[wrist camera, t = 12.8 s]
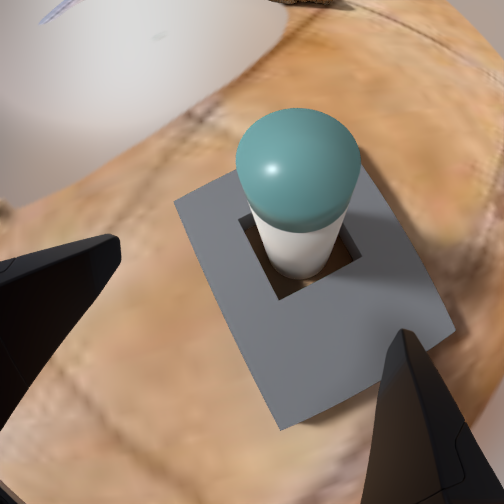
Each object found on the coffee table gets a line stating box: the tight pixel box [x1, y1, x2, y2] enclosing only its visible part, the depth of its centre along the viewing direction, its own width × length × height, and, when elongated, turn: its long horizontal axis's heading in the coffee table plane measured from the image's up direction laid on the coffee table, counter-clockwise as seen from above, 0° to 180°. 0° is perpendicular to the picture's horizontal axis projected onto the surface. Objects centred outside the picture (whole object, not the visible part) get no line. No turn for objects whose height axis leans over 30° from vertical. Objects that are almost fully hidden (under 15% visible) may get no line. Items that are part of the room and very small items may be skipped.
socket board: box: [174, 165, 456, 431], centre depth 21 cm, size 17×13×2 cm
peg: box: [236, 108, 361, 280], centre depth 17 cm, size 4×4×12 cm
